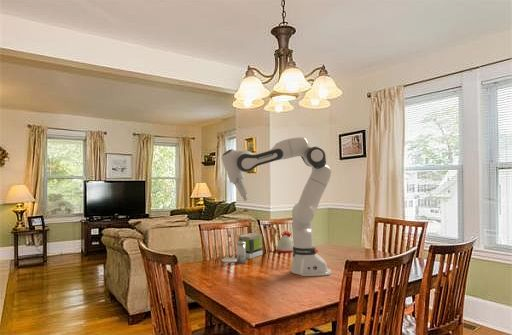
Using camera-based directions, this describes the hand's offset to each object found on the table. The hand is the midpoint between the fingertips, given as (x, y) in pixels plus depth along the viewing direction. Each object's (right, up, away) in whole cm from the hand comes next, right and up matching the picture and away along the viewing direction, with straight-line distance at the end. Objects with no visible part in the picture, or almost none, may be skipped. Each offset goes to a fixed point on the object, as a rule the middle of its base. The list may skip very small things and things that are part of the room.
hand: (244, 198), depth 203 cm
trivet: (-10, -43, +20) cm, 48 cm away
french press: (-2, -42, +15) cm, 45 cm away
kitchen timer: (+29, -44, +50) cm, 73 cm away
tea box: (+3, -43, +33) cm, 55 cm away
